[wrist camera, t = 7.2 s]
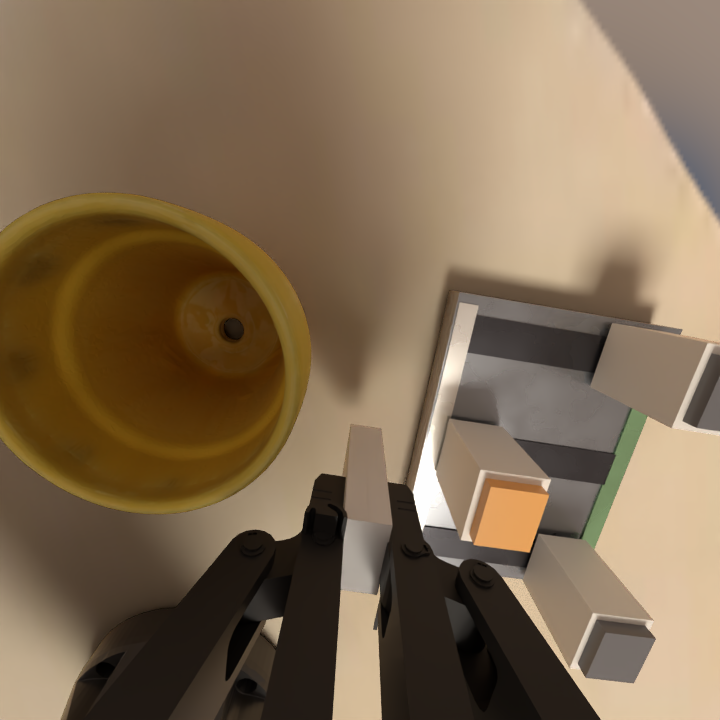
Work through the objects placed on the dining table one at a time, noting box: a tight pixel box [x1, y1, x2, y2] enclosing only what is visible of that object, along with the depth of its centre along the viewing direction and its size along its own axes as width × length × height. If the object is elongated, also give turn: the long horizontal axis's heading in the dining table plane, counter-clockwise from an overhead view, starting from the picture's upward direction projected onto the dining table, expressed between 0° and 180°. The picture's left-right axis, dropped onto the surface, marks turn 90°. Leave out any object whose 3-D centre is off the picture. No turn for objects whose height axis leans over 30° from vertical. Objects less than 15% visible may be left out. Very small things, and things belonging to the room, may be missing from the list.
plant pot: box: [0, 193, 311, 514], centre depth 15 cm, size 10×10×10 cm
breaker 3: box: [590, 323, 720, 436], centre depth 16 cm, size 3×4×6 cm
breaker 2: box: [523, 534, 656, 683], centre depth 19 cm, size 3×4×6 cm
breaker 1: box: [436, 419, 551, 552], centre depth 17 cm, size 3×4×6 cm
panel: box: [406, 290, 682, 579], centre depth 21 cm, size 12×17×2 cm
